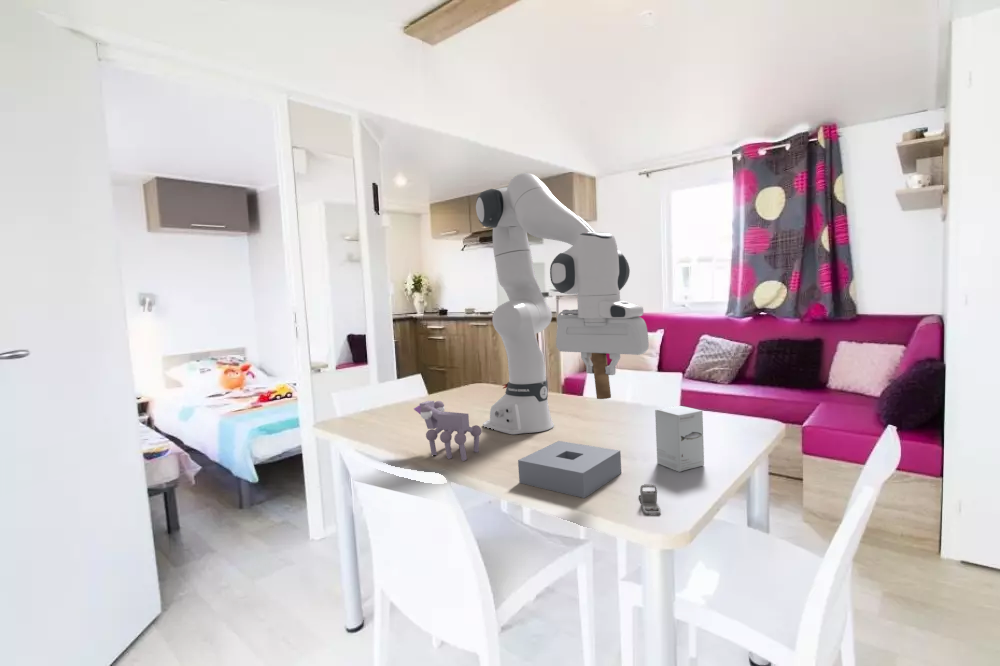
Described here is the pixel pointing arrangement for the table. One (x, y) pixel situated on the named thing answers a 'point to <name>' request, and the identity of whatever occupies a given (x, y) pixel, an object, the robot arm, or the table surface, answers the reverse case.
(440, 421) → the toy sheep
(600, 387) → the walnut peg
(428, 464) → the table surface
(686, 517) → the table surface
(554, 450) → the hole block
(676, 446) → the supplement box
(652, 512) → the strap clip
